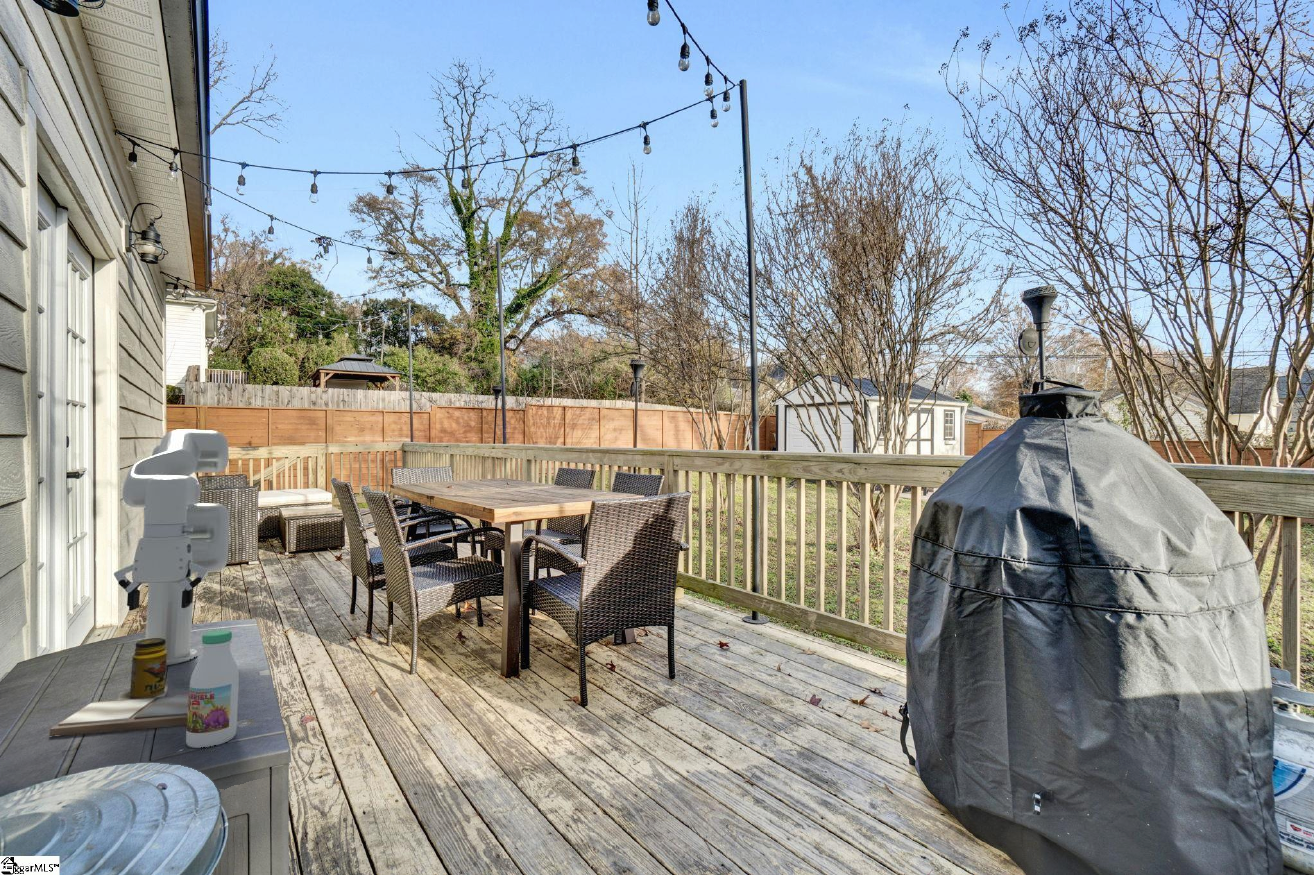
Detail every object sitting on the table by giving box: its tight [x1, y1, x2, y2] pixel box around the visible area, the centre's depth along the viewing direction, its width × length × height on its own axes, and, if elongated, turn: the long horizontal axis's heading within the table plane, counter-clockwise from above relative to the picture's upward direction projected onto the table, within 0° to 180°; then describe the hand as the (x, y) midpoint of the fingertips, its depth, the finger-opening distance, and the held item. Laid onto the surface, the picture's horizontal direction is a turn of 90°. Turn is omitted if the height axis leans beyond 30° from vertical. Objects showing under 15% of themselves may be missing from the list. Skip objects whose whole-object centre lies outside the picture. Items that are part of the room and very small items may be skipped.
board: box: [49, 694, 189, 737], centre depth 127 cm, size 14×24×2 cm, turn 108°
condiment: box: [116, 638, 169, 700], centre depth 138 cm, size 7×8×12 cm
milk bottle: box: [185, 629, 240, 749], centre depth 117 cm, size 8×8×20 cm
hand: (160, 608), depth 139 cm, fingers open, 9 cm apart
